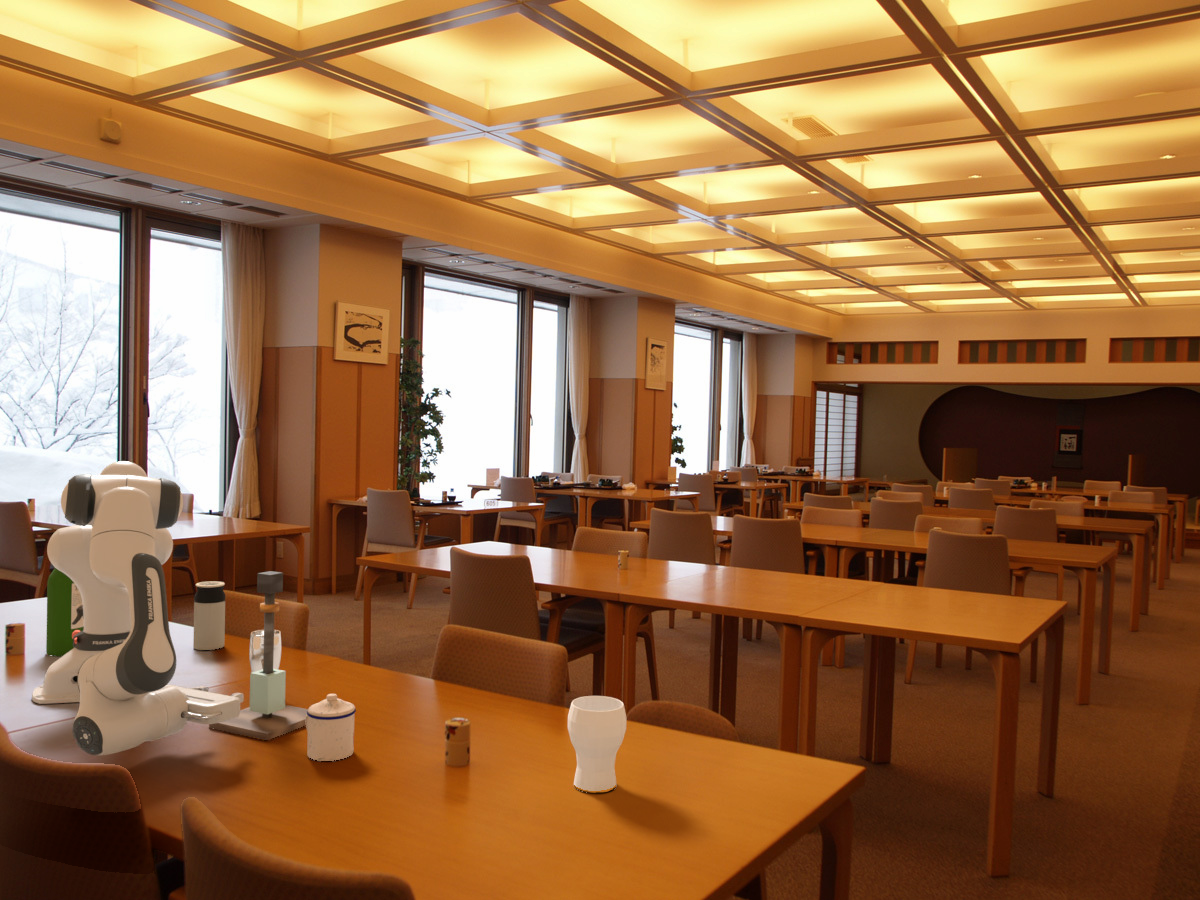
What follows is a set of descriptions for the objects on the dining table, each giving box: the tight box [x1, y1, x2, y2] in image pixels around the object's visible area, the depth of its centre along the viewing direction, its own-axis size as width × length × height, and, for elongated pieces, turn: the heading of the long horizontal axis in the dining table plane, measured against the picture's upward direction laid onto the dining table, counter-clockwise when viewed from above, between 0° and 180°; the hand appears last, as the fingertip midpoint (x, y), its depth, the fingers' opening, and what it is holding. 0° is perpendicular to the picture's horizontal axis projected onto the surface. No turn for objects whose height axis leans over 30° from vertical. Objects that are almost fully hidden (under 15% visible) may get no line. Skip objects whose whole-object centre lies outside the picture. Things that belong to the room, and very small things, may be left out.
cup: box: [567, 695, 628, 791], centre depth 166 cm, size 11×11×15 cm
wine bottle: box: [45, 567, 84, 657], centre depth 246 cm, size 9×9×32 cm
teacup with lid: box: [305, 693, 357, 762], centre depth 178 cm, size 12×9×12 cm
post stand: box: [208, 570, 308, 741], centre depth 194 cm, size 16×16×32 cm
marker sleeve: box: [249, 669, 287, 715], centre depth 194 cm, size 5×5×8 cm
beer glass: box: [248, 629, 282, 673], centre depth 213 cm, size 7×7×15 cm
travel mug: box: [192, 580, 226, 651], centre depth 256 cm, size 8×8×18 cm
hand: (223, 693), depth 183 cm, fingers open, 8 cm apart
